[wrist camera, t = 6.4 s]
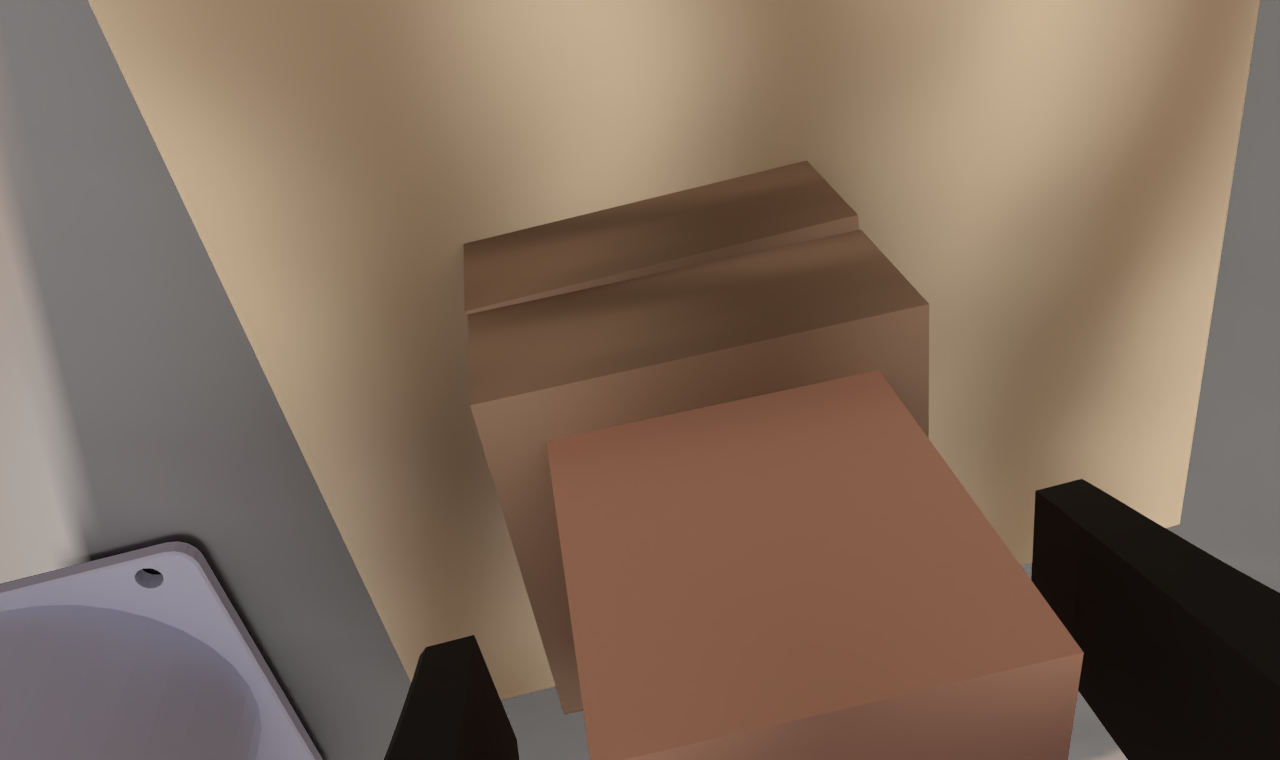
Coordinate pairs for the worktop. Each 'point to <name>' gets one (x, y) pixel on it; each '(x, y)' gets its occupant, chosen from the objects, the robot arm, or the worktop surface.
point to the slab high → (674, 372)
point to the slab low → (655, 236)
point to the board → (684, 159)
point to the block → (800, 591)
